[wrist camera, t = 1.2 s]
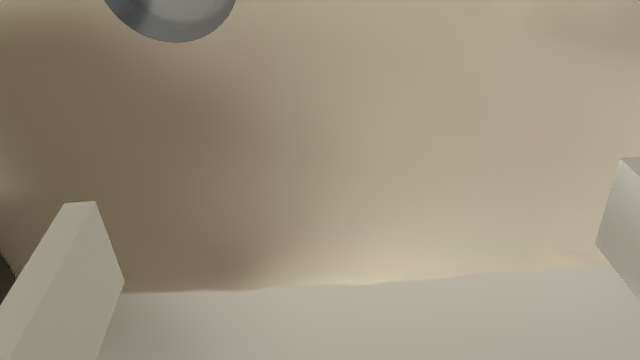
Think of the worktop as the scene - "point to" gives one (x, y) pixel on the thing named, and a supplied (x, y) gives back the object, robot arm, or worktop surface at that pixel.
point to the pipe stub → (172, 17)
